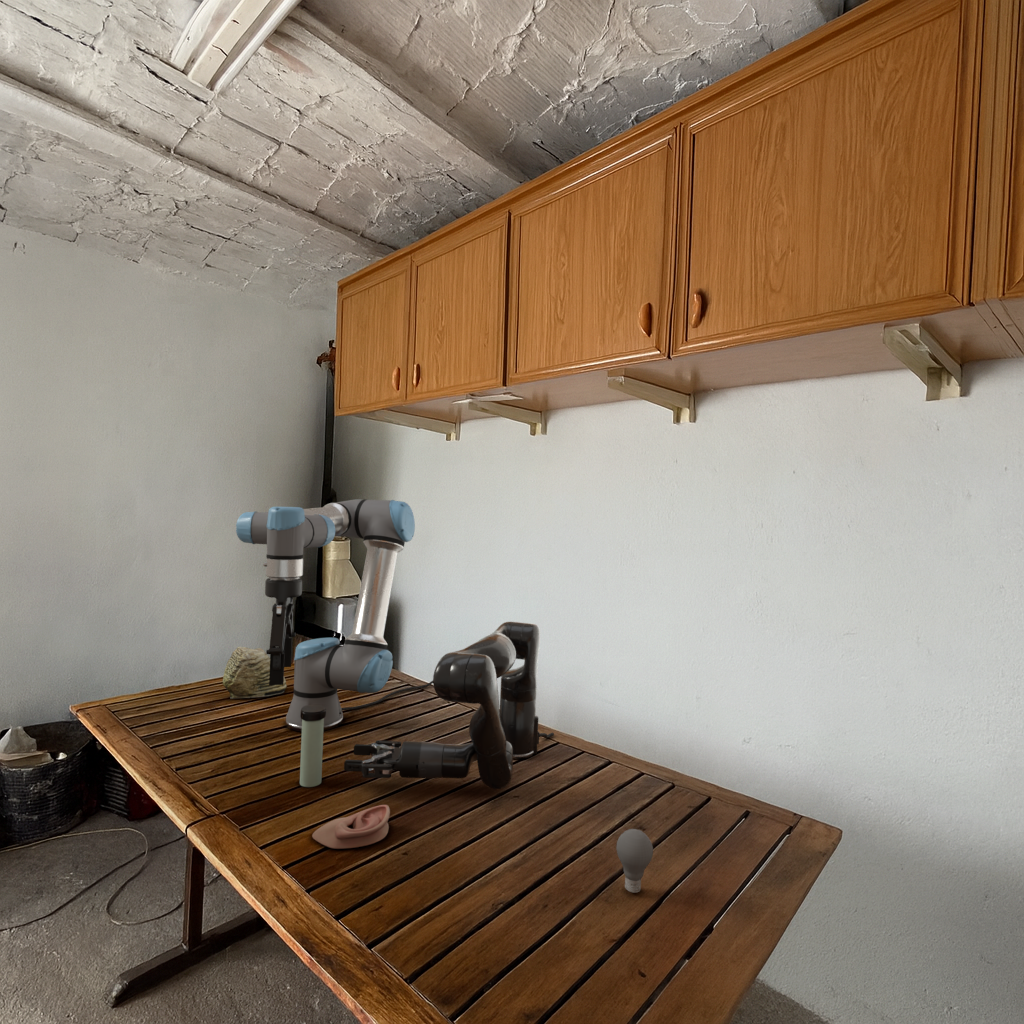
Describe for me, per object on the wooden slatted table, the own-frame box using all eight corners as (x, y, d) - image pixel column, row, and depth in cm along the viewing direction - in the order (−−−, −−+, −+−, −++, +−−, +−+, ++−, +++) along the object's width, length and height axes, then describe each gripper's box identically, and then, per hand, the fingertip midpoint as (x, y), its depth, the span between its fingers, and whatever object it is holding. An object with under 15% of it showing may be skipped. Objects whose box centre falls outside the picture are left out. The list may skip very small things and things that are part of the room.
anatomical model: (304, 822, 115) (334, 794, 126) (303, 844, 115) (333, 813, 126) (372, 833, 112) (397, 803, 124) (371, 855, 113) (396, 823, 124)
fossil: (218, 695, 195) (220, 647, 195) (278, 685, 208) (279, 640, 207) (228, 703, 189) (230, 653, 188) (289, 692, 201) (290, 645, 201)
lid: (317, 722, 137) (318, 713, 137) (295, 719, 138) (295, 710, 138) (330, 714, 142) (330, 706, 142) (308, 711, 143) (308, 703, 143)
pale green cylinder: (314, 788, 137) (317, 714, 137) (295, 785, 138) (298, 712, 138) (325, 779, 142) (328, 708, 142) (306, 776, 143) (309, 705, 143)
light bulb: (610, 879, 108) (613, 822, 108) (644, 879, 109) (647, 822, 109) (619, 902, 102) (622, 840, 102) (655, 901, 103) (658, 840, 103)
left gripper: (273, 570, 148) (270, 660, 149) (255, 586, 124) (252, 693, 125) (307, 571, 150) (304, 659, 151) (296, 586, 126) (292, 692, 126)
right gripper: (427, 731, 147) (357, 728, 147) (419, 756, 133) (341, 753, 133) (425, 763, 147) (356, 760, 147) (417, 791, 133) (340, 788, 133)
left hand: (280, 675), depth 138 cm, fingers open, 13 cm apart
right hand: (349, 757), depth 140 cm, fingers open, 8 cm apart
